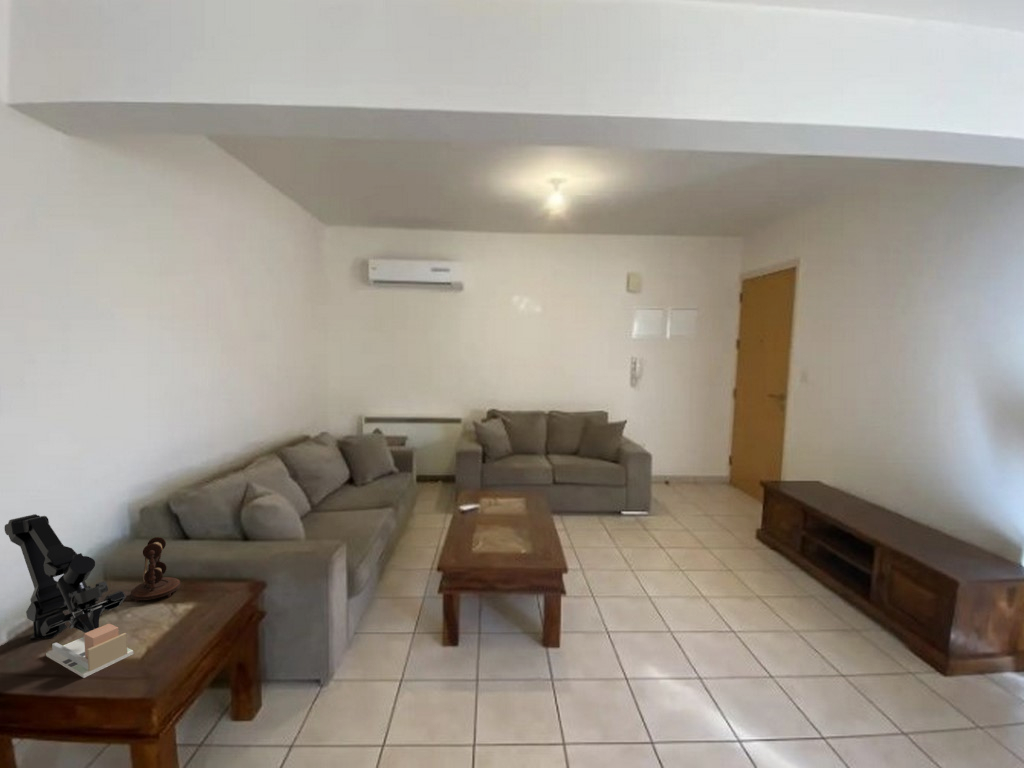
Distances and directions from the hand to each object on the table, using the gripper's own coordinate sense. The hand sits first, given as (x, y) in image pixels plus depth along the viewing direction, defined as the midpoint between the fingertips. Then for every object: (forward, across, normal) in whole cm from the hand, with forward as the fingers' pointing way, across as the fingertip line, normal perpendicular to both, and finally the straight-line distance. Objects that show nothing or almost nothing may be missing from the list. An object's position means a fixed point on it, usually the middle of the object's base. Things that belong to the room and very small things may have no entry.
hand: (96, 637), depth 143 cm
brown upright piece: (-14, +30, +24) cm, 40 cm away
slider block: (+6, 0, +2) cm, 6 cm away
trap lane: (+2, 0, +8) cm, 8 cm away
